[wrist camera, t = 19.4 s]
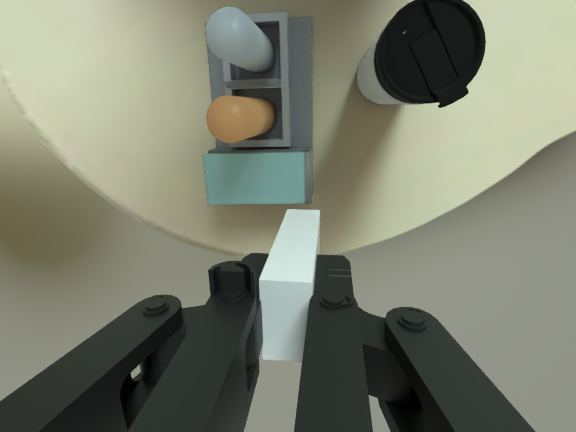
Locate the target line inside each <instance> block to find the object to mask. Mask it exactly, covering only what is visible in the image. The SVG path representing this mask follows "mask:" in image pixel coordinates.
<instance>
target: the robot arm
mask: <svg viewBox="0 0 576 432" xmlns="http://www.w3.org/2000/svg"><path fill="white" fill-rule="evenodd" d="M319 250H320V210H304V209H287V212H286V214H285V217H284V219H283V222H282V224H281V226H280V229H279V231H278V234H277V236H276V239H275V241H274V244H273V246H272V249H271V251H270V254H265V253H250V254H249V255H247V256H246V257H244V258H243V259H242V261H227V262H222V263H219V264H217V265H214V266H212V268H210V269H209V270H208V272H209V283H210V292H211V296H210V298H209V299H208V301H207V303H206V304H205V305H202V306H196V307H189V308H182V307H181V302H180V300H179V299H178V298H177V297H174V296H172V295H156V296H152V297H149V298H146V299H144V300H142V301H140V302H138V303H137V304H136V305H134V306H133V307H131V308H130V309H129V310H127V311H126V312H124V313H123V314H122V315H120V316H119V317H117V318H116V319H115V320H113V321H112V322H110V323H109V324H107V325H106V326H105V327H103V328H102V329H101V330H99V331H98V332H96V333H95V334H94V335H92V336H91V337H89V338H88V339H87V340H85V341H84V342H82V343H81V344H80V345H78V346H77V347H75V348H74V349H73V350H71V351H70V352H68V353H67V354H66V355H64V356H63V357H61V358H60V359H59V360H58V361H56V362H55V363H53V364H52V365H50V366H49V367H47V368H46V369H45V370H43V371H42V372H41V373H39V374H38V375H36V376H35V377H33V378H32V379H31V380H29V381H28V382H26V383H25V384H24V385H22V386H21V387H19V388H18V389H17V390H15V391H14V392H13V393H11V394H10V395H8V396H7V397H6V398H4V399H3V400H1V401H0V432H244V428H245V424H246V420H247V417H248V413H249V409H250V406H251V402H252V398H253V394H254V390H255V387H256V383H257V378H258V375H259V355H260V351H261V348H262V357H263V358H262V359H265V360H279V361H291V362H302V369H301V377H300V386H299V394H298V403H297V412H296V420H295V429H294V432H373V429H372V421H371V413H370V404H369V396H368V395H371V396H374V397H377V398H378V401H379V406H380V408H381V410H382V412H383V415H384V417H385V419H386V422H387V424H388V426H389V429H390V431H391V432H535V431H534V430H533V428H532V427H531V426H530V425H529V424H528V423H527V422H526V420H525V419H524V418H523V417H522V416H521V415H520V414H519V412H518V411H517V410H516V409H515V408H514V407H513V406H512V404H511V403H510V402H509V401H508V400H507V399H506V398H505V396H504V395H503V394H502V393H501V392H500V391H499V390H498V389H497V387H496V386H495V385H494V384H493V383H492V382H491V381H490V379H489V378H488V377H487V376H486V375H485V374H484V372H482V370H481V369H480V368H479V367H478V366H477V364H476V363H475V362H474V361H473V360H472V359H471V358H470V356H469V355H468V354H467V353H466V352H465V351H464V350H463V348H462V347H461V346H460V345H459V344H458V343H457V342H456V340H455V339H454V338H453V337H452V336H451V335H450V334H449V332H448V331H447V330H446V329H445V328H444V327H443V326H442V325H441V323H440V322H439V321H438V320H437V319H436V318H435V317H433V316H432V315H431V314H429V313H427V312H425V311H423V310H420V309H417V308H412V307H399V308H395V309H392V310H390V311H389V312H387V315H386V317H385V318H382V317H378V316H375V315H372V314H369V313H367V312H365V311H363V310H362V309H361V308H359V307H358V304H357V302H356V300H355V298H354V294H353V286H352V277H351V267H350V262H349V261H348V260H347V259H346V258H345V257H344V256H340V255H319ZM139 364H140V369H141V372H140V373H139V374H138V375H137V376H136V377H135V378H133V379H132V378H131V372H132V371H133V370H134V369H135V368H136V367H137V366H138V365H139Z"/></svg>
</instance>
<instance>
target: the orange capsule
mask: <svg viewBox="0 0 576 432" xmlns="http://www.w3.org/2000/svg"><path fill="white" fill-rule="evenodd" d="M277 117H278V115H277V110H276V108H275V106H274V105H273V103H272V102H270V101H269V100H267V99H264V98H253V97H241V96H228V95H226V96H221V97H218V98H217V99H215V100H214V101H213V102H212V103H211V105H210V106H209V108H208V111H207V125H208V128H209V130H210V132H211V133H212V134H213V136H214V137H216V138H217V139H218V140H220V141H222V142H225V143H235V142H238V141H241V140H244V139H247V138H250V137H253V136H256V135H259V134H262V133H266V132H268V131H270V130H271V129H272V128H273V127H274V126H275V124H276V122H277Z"/></svg>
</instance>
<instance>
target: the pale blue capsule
mask: <svg viewBox="0 0 576 432" xmlns="http://www.w3.org/2000/svg"><path fill="white" fill-rule="evenodd" d="M206 40H207V44H208V46H209V48H210V50H211V51H212V52H213V54H214V55H215V56H217V57H218V58H220V59H222V60H224V61H226V62H229V63H231V64H234V65H236V66H239V67H241V68H244V69H246V70H248V71H251V72H253V73H257V74H261V73H265V72H267V71H269V70H270V69H271V68H272V67H273V65H274V63H275V60H276V49H275V46H274V44H273V43H272V41H271V40H270V39H269V38H268V37H267V36H266V35H265V34H264V33H263V32H262V31H261V30H260V29H259V28H258V26H257V25H256V24H255V23H254V22H253V21H252V20H251V19H250V18H249V17H248V16H247V15H246V14H245V13H244V12H243V11H242V10H240V9H238V8H236V7H231V6H227V7H222V8H220V9H218V10H216V11H215V12H214V13H213V14H212V15H211V17H210V18H209V20H208V22H207V26H206Z"/></svg>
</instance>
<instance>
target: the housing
mask: <svg viewBox="0 0 576 432" xmlns="http://www.w3.org/2000/svg"><path fill="white" fill-rule="evenodd" d="M246 15H247V16H248V17H249V18H250V19H251V20H252V21H253V22H254V23H255V24H256V25H257V26H258V28H259V29H260V30H261V31H262V32H263V33H264V34H265V35H266V36H267V37H268V38H269V39H270V40H271V41H272V43H273V44H274V46H275V49H276V60H275V63H274V65H273V67H272V68H271V69H270V70H269V71H267V72H265V73H261V74H257V73H253V72H251V71H248V70H246V69H244V68H241V67H239V66H236V65H234V64H231V63H229V62H226V61H224V60H222V59H220V58H218V57H217V56H215V55H214V54H213V52H212V51H211V50H210V48H209V46H208V44H207V48H208V59H209V70H210V81H211V92H212V102H213V101H214V100H215V99H217V98H218V97H221V96H226V95H228V96H241V97H253V98H264V99H267V100H269V101H270V102H272V103H273V105H274V106H275V108H276V110H277V115H278V117H277V122H276V124H275V126H274V127H273V128H272V129H271V130H270V131H268V132H266V133H262V134H259V135H256V136H253V137H250V138H247V139H244V140H241V141H238V142H235V143H225V142H222V141H220V140H218V139H217V138H216V147H217V148H214V149H212V150H209V151H208V154H212V153H259V152H304V151H310V152H311V165H312V194H313V148H312V18H311V17H302V18H289V15H288V13H287V11H285V12H269V13H253V14H246ZM205 26H207V23H205Z"/></svg>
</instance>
